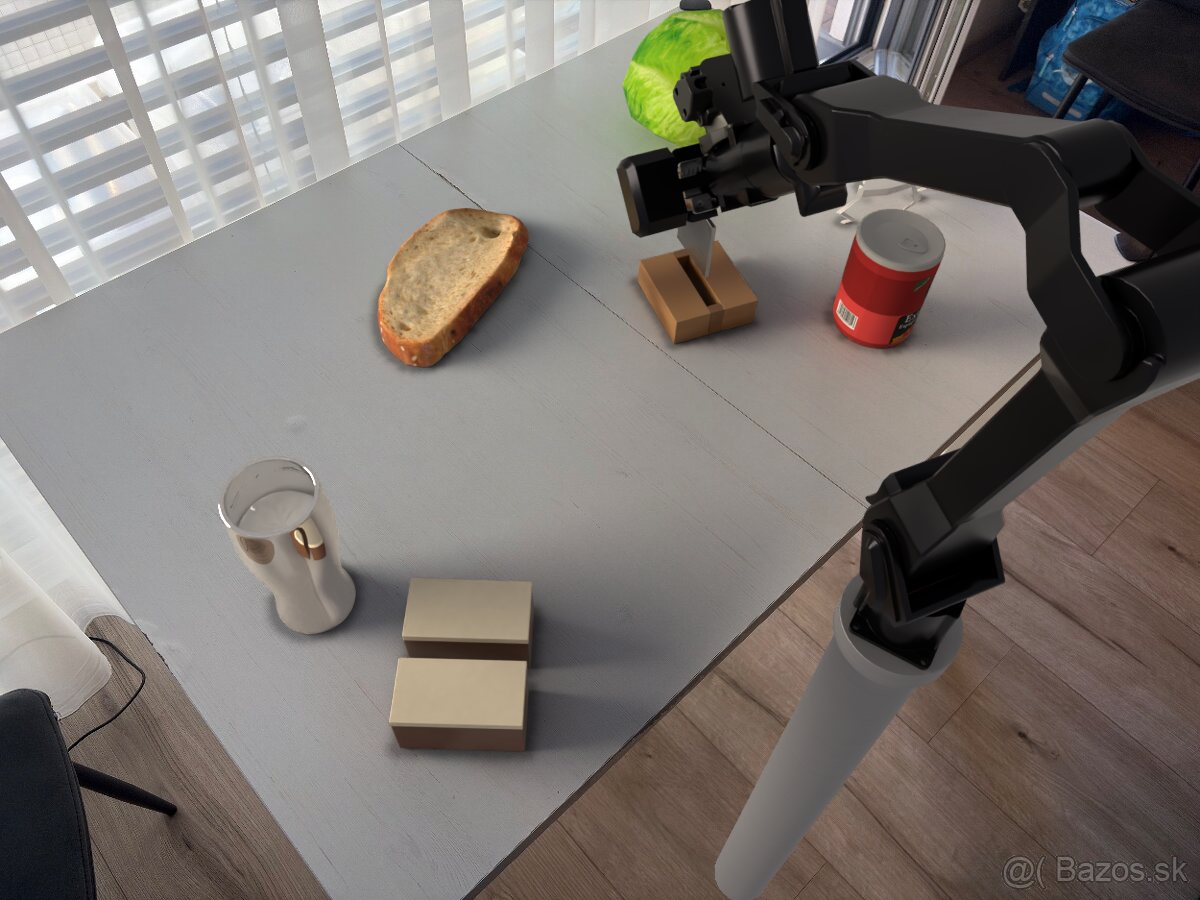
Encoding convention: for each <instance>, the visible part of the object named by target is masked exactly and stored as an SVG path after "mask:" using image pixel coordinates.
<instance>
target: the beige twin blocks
mask: <svg viewBox="0 0 1200 900" xmlns="http://www.w3.org/2000/svg"><path fill="white" fill-rule="evenodd" d="M409 579H410V580H409V588H408V592H407V593H408V595H407V599H406V606H405V607H406V608H405V614H404V615H405V616H404V620H403V627H402V634H401V637H402V640H403V643H404V646H405V650H406V652H407V655H408V657H398V660H397V668H396V674H395V681H394V687H393V693H392V694H393V695H392V701H391V708H390V714H389V719H388V720H389V721H388V723H389V726H390V727H391V729H392V732H393V735H394V737H395V739H396V741H397V742H396V743H397V744H398V746H399V748H400V749H419V750H421V749H422V750H452V751H453V750H454V751H455V750H456V751H457V750H459V751H460V750H461V751H493V752H494V751H495V752H526V744H527V729H528V728H527V727H528V714H529V713H528V712H529V696H530V684H529V672H528V670H530V669H531V666H532V651H533V649H532V648H533V634H534V633H533V632H534V620H535V619H534V617H535V610H534V609H535V608H534V593H533V591H534V590H533V582H532V581H528V580H527V581H526V580H525V581H523V580H490V579H456V578H454V579H453V578H423V577H422V578H419V577H418V578H417V577H412V578H409Z"/></svg>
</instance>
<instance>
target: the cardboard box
mask: <svg viewBox="0 0 1200 900" xmlns="http://www.w3.org/2000/svg"><path fill="white" fill-rule="evenodd" d="M638 263H639V264H638V274H637V275H638V276H637V283H638V285H639V287H640V288H641V290H642V292H643V293H644V295H645V297H646V299H647V300H648V303H649V304H650V306H651V307H652V309H653V312H654V313H655V314H656V316H657V317H658V319H659V321H660V323H661V324H662V326H663V328H664V330H665V331H666V333H667V335H668V337H669V339H670V340H671V341H672V343H673V345H676V344H679V343H682V342H687V341H689V340H694V339H696V338H701V337H704V336H708V335H711V334H714V333H718V332H723V331H726V330H729V329H733V328H736V327H741V326H744V325H746V324H747V325H748V324H751V323H754V320H755V315H756V311H757V308H758V303H759V299H758V298H757V297H756V296H757V295H755V294H754V292H753V290H752V289H751V288H750V286H749V285H748V283H747V282H746V280H745V278H744V277H743V276H742V274H741V273H740V271H739V270H738V268H737V266H736V265H735V263H734V262H733V261H732V259H731V258H730V256H729V255H728V254H727V252H726V250H725V248H724V247H723V246H722V244H721V243H720V241H719V240H714V245H713V251H712V258H711V264H710V270H709V276H708V277H707V278H704V276H703V275H702V273H701V272H700V270H699V269H698V267H697V266H696V264H695V263H694V262H693V260H692V259H691V257H690V256H689V254H688V253H687V251H686V250H685V248H682V249H679V250H675V251H671V252H666V253H663V254H659V255H655V256H650V257H646V258H643V259H640V260H639V261H638Z"/></svg>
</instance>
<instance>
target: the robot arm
mask: <svg viewBox="0 0 1200 900" xmlns="http://www.w3.org/2000/svg"><path fill="white" fill-rule="evenodd" d="M722 18H723V22H724V26H725V31H726V35H727V40H728V44H729V48H730V53H729V54H724V55H720V56H715V57H711V58H707V59H704V60H703V61H702V62H701V64H700V65H698V66H693V67H690V68H689V70H688V71H687V72H683V73H681V74H680V80H678V81H677V83H676V85H675V87H674V89H673V99H674V101H675V104H676V106H677V109H678V111H679V114H680V116H681V119H682V120H683V121H684V122H691V121H695V122H697V123H698V125H699V127H704V128H705V131H706V135H704V136H702V137H699V138H698V139H699V143H697V144H693V145H689V146H685V147H678V148H674V149H673V150H672V151H671V150H670V148H669V147H668V146H665V147H661V148H658V149H654V150H650V151H645V152H642V153H638V154H633V155H630V156H627V157H625V158H623V159H621V160H620V162H619V163H618V165H617V167H616V175H617V178H618V182H619V185H620V186H619V187H620V190H621V194H622V198H623V201H624V206H625V210H626V214H627V217H628V221H629V222H628V223H629V226H630V230H631V233H632V234H634V235H635V236H637V237H638V238H639V239H640V238H641V239H642V238H645V237H649V236H652V235H656V234H659V233H664V232H667V231H671V230H674V229H678V228H679V227H682V226H686V223H687V222H690V223H694V222H697V221H701V220H705V219H709V218H710V219H712V218H716V217H719V212H718V208H719V209H720V213H721V214H723V213H726V212H727V213H728V212H730V211H733V210H737V209H741V208H744V207H750V208H752V207H757V206H761V205H765V204H767V203H771V202H775V201H777V200H778V199H779V198H781V197H784V196H789V195H792V194H795V195H794V196H795V200H796V203H797V209H798V213H799V216H800V217H802V218H806V217H810V216H814V215H817V214H820V213H824V212H828V211H832V210H834V209H840V208H842V207H844V206H845V205H846V204H847V203H848V196H849V193H848V192H849V191H848V188H847V184H852V183H858V182H863V181H866V180H872V179H890V180H894V181H898V182H903V183H907V184H911V185H915V186H916V187H919V188H921V187H924V188H928V189H927V190H932V191H937V192H941V193H945V194H950V195H954V196H959V197H962V198H966V199H971V200H975V201H979V202H983V203H988V204H992V205H997V206H1000V207H1001V206H1002V207H1005V208H1009V209H1011V211H1012V212H1013V214H1014V215H1015V217H1016V219H1017V221H1018V222H1019V224H1020V226H1021V227H1022V230H1023V231H1024V234H1025V266H1026V267H1025V268H1026V270H1025V272H1026V291H1027V294H1028V297H1029V299H1030V301H1031V302H1032V305H1033V306H1034V308H1035V309H1036V312H1037V313H1038V314H1039V316H1040V318H1041V320H1042V321H1043V323H1044V325H1045V326H1046V328H1045V329H1044V331H1043V333H1042V335H1041V336H1040V339H1039V355H1040V364H1041V366H1040V368H1039V369H1038V371H1037V372H1036V373H1035V374H1034V375H1033V376H1032V377H1031V378H1030V379H1029V380H1028V381H1027V382H1026V383H1025V384H1024V385H1023V386H1022V387H1021V388H1020V389H1019V390H1017V392H1016V393H1015V394H1014V395H1012V396H1011V398H1010V399H1008V401H1007V402H1006V403H1005V404H1004V405H1002V407H1000V408H999V409H998V410H997V411H996V412H995V414H993V415H992V416H991V417H990V419H988V420H987V421H986V422H985V423H984V424H983V425H982V426H981V427H980V428H979V429H978V430H977V431H976V432H975V433H974V434H973V435H971V437H970V438H969V439H968V440H967V441H966V442H965V443H963V445H962V446H960V447H958V448H956V449H953V450H951V451H949V452H946V453H943V454H940V455H937V456H934V457H932V458H929V459H926V460H924V461H921V462H918V463H915V464H913V465H910V466H907V467H905V468H902V469H899V470H896V471H894V472H890V473H889V474H888V475H887V476H886V477H885V478H884V479H883V480H882V482H881V484H880V485H879V488H878V489H877V491H876V492H874V493H871V494H868V495H865V500H866V502H867V503H868V504H869V506H868V507H867V508H866V510H865V511H864V514H863V519H862V525H863V527H862V530H861V538H860V539H861V540H860V554H859V555H860V556H859V557H860V558H859V570H858V571H859V572H858V573H859V574H860V577H861V578H862V580H863V581H864V582H863V584H862V586H861V588H860V590H859V592H858V594H857V596H856V598H855V600H854V602H853V605H854V607H855V608H857V610H856V612H855V614H854V616H853V618H852V620H851V622H850V624H849V627H848V629H849V631H850V633H852V634H853V635H855V636H857V637H859V638H861V639H863V640H865V641H867V642H869V643H871V644H873V645H874V646H876V647H878V648H880V649H882V650H884V651H886V652H888V653H890V654H892V655H894V656H896V657H898V658H899V659H901V660H903V661H905V662H907V663H909V664H911V665H913V666H915V667H917V668H919V669H921V670H927V669H928V668H929V667H930V666H931V664H932V661H933V659H934V657H935V654H936V652H937V649H938V647H939V645H940V643H941V642H942V640H943V639H944V638H945V636H946V635H947V634H948V632H949V631H950V629H951V628H952V627H953V625H954V624H955V623H956V621H957V620H958V619H959V617H960V615H962V613H963V610H964V608H965V606H966V603H967V601H968V600H969V599H970V598H974V597H975V596H978V595H980V594H982V593H985V592H987V591H990V590H992V589H994V588H995V589H996V588H997V587H1000V586H1002V585H1004V584H1005V583H1006V577H1005V571H1004V567H1003V562H1002V561H1003V560H1002V557H1001V551H1000V548H999V542H998V541H999V540H998V537H997V536H998V535H999V534H1000V533H1001V531H1002V529H1003V528H1004V526H1005V524H1006V519H1005V518H1006V517H1005V514H1004V511H1003V510H1004V509H1005V508H1006V507H1007V506H1008V505H1009V504H1010V503H1012V502H1013V501H1014V500H1016V499H1017V498H1019V496H1021V495H1022V494H1024V493H1025V492H1026V491H1027V490H1029V489H1030V488H1031V487H1032V486H1034V485H1035V484H1036V483H1037V482H1039V481H1040V480H1041V479H1042V478H1044V477H1045V476H1046V475H1047V474H1049V473H1050V472H1051V471H1052V470H1053V469H1055V468H1057V466H1058V465H1060V464H1061V463H1063V462H1064V461H1065V460H1066V459H1068V458H1069V457H1070V456H1072V455H1073V454H1074V453H1075V452H1076V451H1078V450H1079V449H1081V448H1082V447H1083V446H1084V445H1085V444H1087V443H1088V442H1089V441H1090V440H1092V439H1093V438H1094V437H1095V436H1097V435H1098V434H1099V433H1101V432H1102V431H1104V429H1106V428H1107V427H1108V426H1109V425H1111V424H1112V423H1113V422H1115V421H1116V420H1117V419H1118V418H1119V417H1121V416H1123V414H1125V413H1126V412H1127V411H1128V410H1130V409H1131V408H1134V407H1136V406H1139V405H1141V404H1142V403H1146V402H1147V401H1150V400H1152V399H1155V398H1157V397H1158V396H1161V395H1164V394H1166V393H1168V392H1170V391H1171V392H1172V391H1173V390H1175V389H1177V388H1180V387H1182V386H1184V385H1187V384H1189V383H1192V382H1194V381H1196V380H1198V379H1199V380H1200V196H1198V195H1197V194H1195V193H1194V192H1192V191H1191V190H1190V189H1188V188H1187V187H1185V186H1183V185H1182V184H1181V183H1179V182H1178V181H1176V180H1175V179H1174V178H1172V177H1171V176H1169V175H1168V174H1167V173H1165V172H1164V171H1162V170H1161V169H1159V168H1157V167H1156V166H1155V165H1154V164H1152V163H1151V161H1150V160H1149V158H1148V156H1147V155H1146V153H1145V151H1144V150H1143V148H1142V147H1141V145H1140V144H1139V142H1138V140H1136V138H1135V136H1134V135H1133V134H1132V132H1131V131H1130V130H1129V129H1128V128H1126V126H1125V125H1124V124H1121V123H1118V122H1116V121H1113V120H1106V119H1103V118H1092V119H1088V120H1083V121H1078V120H1069V119H1062V118H1053V117H1044V116H1043V117H1042V116H1037V115H1029V114H1028V115H1027V114H1018V113H1013V112H1012V113H1010V112H1003V111H1001V112H1000V111H996V110H995V111H993V110H986V109H977V108H968V107H959V106H954V105H953V106H952V105H943V104H937V103H933V102H930V101H928V100H925V99H924V98H923V95H922V93H921V91H920V89H919V88H918V87H917V86H915V85H913V84H910V83H909V82H905V81H904V80H903V81H902V80H900V79H897V78H895V77H893V76H889V75H886V74H879V75H878V74H877V73H875V72H873V70H871V69H870V68H868V67H867V66H865V65H864V64H862V63H861V62H859V61H858V60H857V59H855V58H849V59H845V60H841V61H837V62H833V63H828V64H824V65H821V63H820V60H819V59H820V58H819V54H818V50H817V45H816V41H815V40H816V39H815V36H814V29H813V26H812V22H811V16H810V12H809V7H808V2H807V0H747V1H744V2H741V3H735V4H731V5H729V6H728V7H726V8H725V9H724V10H723V12H722ZM706 153H708V155H707V156H704V154H706ZM1092 207H1094V209H1095V210H1096V211H1097V213H1099V214H1100V216H1102V217H1103V218H1105V219H1106V220H1108V221H1109V222H1110V223H1111V224H1113V225H1114V226H1116V227H1117V228H1119V229H1121V231H1123V232H1124V233H1126V234H1127V235H1129V236H1130V237H1131V238H1133V239H1134V240H1136V241H1137V242H1139V243H1140V244H1142V245H1143V246H1145V247H1146V248H1147V249H1149V250H1150V251H1152V252H1153V253H1154V254H1156V256H1154V257H1151V258H1148V259H1144V260H1141V261H1139V262H1136V263H1132V264H1130V265H1126V266H1123V267H1120V268H1117V269H1114V270H1111V271H1108V272H1105V273H1102V274H1099V275H1096V274H1095V273H1094V270H1093V269H1092V267H1091V266H1090V264H1089V263H1088V261H1087V259H1086V258H1085V256H1084V254H1083V252H1082V238H1081V237H1082V236H1081V218H1080V211H1082V210H1084V209H1088V208H1092ZM853 626H856V627H857V628H858V629H857V630H856V629H854V628H853ZM921 661H924V662H925V663H926V665H923V664H922V663H921Z"/></svg>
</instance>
